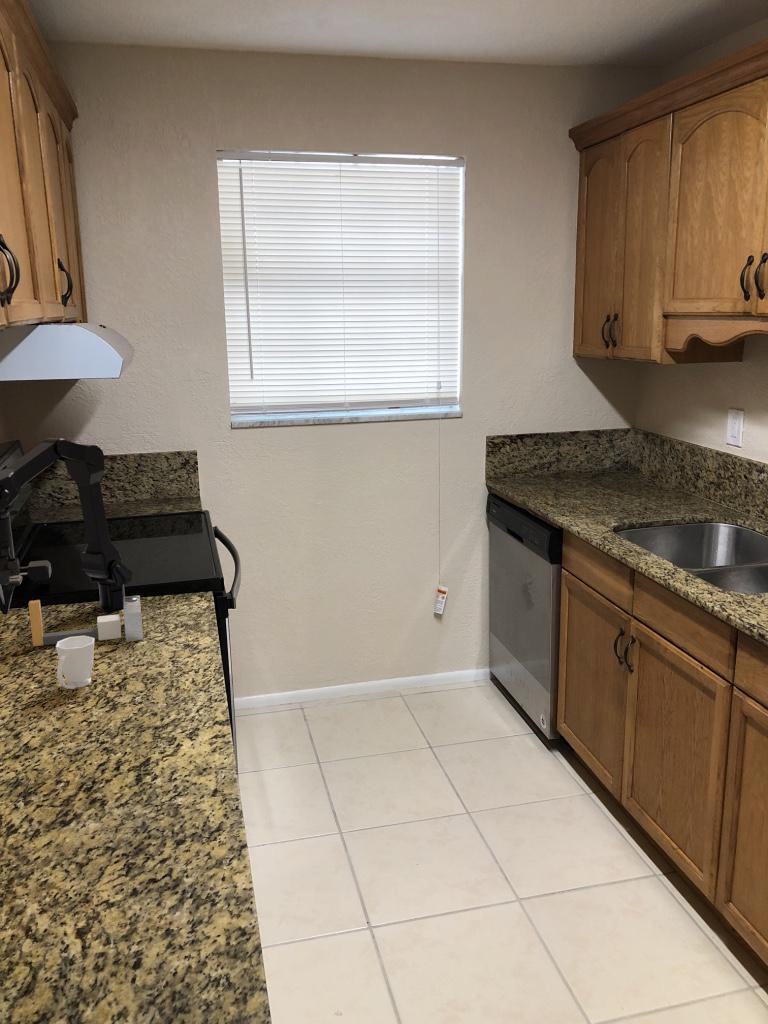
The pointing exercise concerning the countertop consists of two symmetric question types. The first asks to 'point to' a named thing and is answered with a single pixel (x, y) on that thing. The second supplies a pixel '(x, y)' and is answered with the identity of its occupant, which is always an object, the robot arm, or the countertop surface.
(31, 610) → the multicoloured u-shaped piece
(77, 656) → the cup
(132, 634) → the housing
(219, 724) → the countertop surface
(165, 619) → the countertop surface
